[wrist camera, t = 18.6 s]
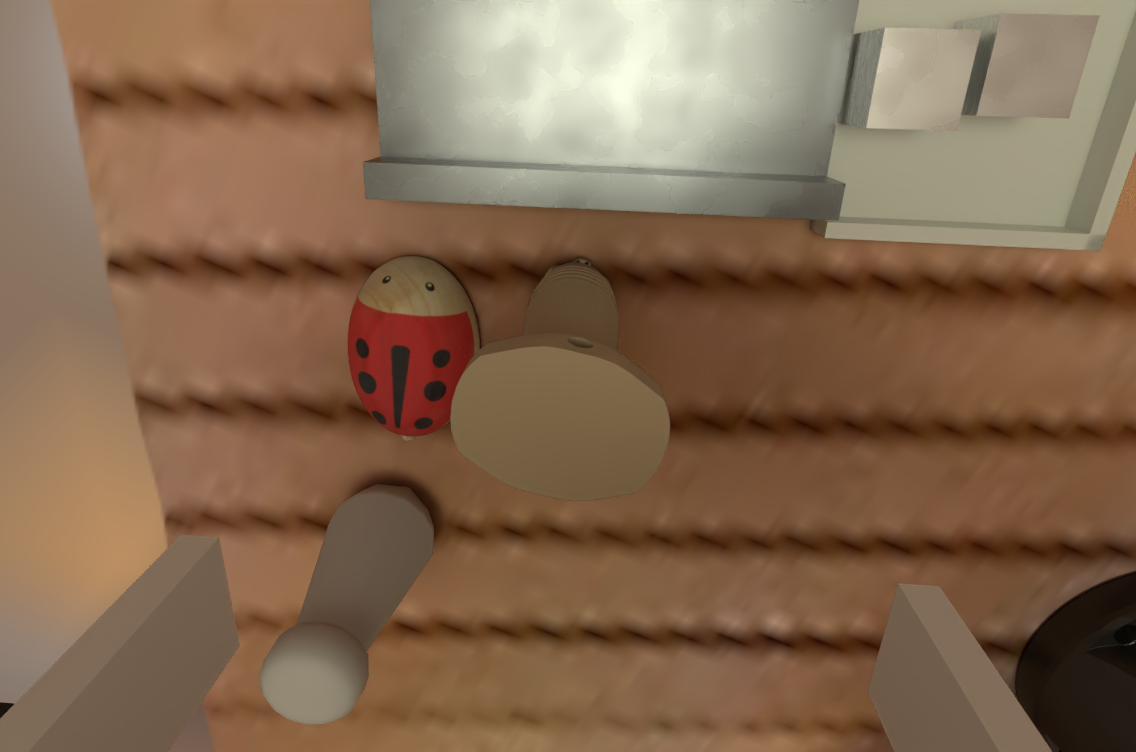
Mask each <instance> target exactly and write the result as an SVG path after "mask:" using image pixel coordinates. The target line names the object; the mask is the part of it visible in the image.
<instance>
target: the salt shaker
mask: <svg viewBox="0 0 1136 752" xmlns="http://www.w3.org/2000/svg"><path fill="white" fill-rule="evenodd" d="M433 541H434V526H433V523H432V520H431V517H430V514H429V510H428V509H427V508H426V506H425V505H424V504H423V503H422V502H421V501H420V499H419V498H418V497H417V496H416V495H415V493H414V492H413V491H412V490H411V489H410V487H404V486H395V485H386V484H376V485H374V486H371V487H369V488H367V489H365V490H362V491H360V492H359V493H357V494H355V495H354V496H352V497H350V498H349V499H347V500H345V501H344V502H343V503H342V504H341V505H340V506H339V507H338V509H337V510H336V512H335V514H334V516H333V517H332V519H331V521H330V522H329V525H328V528H327V532H326V535H325V538H324V541H323V544H322V547H321V550H320V554H319V557H318V560H317V563H316V566H315V569H314V572H313V575H312V579H311V582H310V585H309V588H308V591H307V594H306V597H305V601H304V604H303V607H302V610H301V613H300V616H299V619H298V623H297V625H296V626H294V627H292V628H290V629H288V630H286V631H285V632H284V633H282V634H281V635H280V636H279V638H278V639H277V641H276V642H275V644H274V645H273V647H272V648H271V650H270V652H269V653H268V655H267V657H266V658H265V660H264V662H263V665H262V668H261V671H260V674H259V675H260V683H261V690H262V692H263V694H264V696H265V698H266V699H267V701H268V702H269V704H270V705H271V706H272V708H273V709H274V710H275V711H276V712H278V713H279V714H281V715H283V716H284V717H286V718H287V719H289V720H292V721H296V722H299V723H303V724H307V725H309V724H325V723H328V722H332V721H334V720H336V719H339V718H341V717H343V716H345V715H347V714H349V712H350V711H351V709H352V708H353V706H354V705H355V703H356V702H357V700H358V699H359V697H360V695H361V694H362V692H363V691H364V689H365V686H366V683H367V680H368V676H369V674H368V653H367V651H368V649H369V648H370V646H371V645H372V643H373V642H374V640H375V639H376V637H377V636H378V634H379V633H380V631H381V630H382V628H383V627H384V625H385V624H386V623H387V621H388V620H389V618H390V617H391V615H392V614H393V612H394V611H395V609H396V608H397V606H398V605H399V603H400V602H401V600H402V599H403V597H404V596H405V595H406V593H407V592H408V590H409V589H410V587H411V586H412V584H413V583H414V581H415V580H416V578H417V577H418V575H419V574H420V572H421V571H422V570H423V568H424V566H425V565H426V563H427V562H428V560H429V558H430V557H431V555H432V554H433Z"/></svg>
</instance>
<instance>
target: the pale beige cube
mask: <svg viewBox="0 0 1136 752" xmlns="http://www.w3.org/2000/svg"><path fill="white" fill-rule="evenodd" d="M980 34H981V30H961V29H923V28H881V29H876V30H871V31H866V32H861V33H857V34H853V38H852V43H851V49H850V54H849V59H848V65H847V70H846V76H845V81H844V87H843V92H842V97H841V103H840V109H839V114H838V120H837V124H842V125H848V126H855V127H861V128H875V129H908V130H941V131H957V129H958V125H959V121H960V117H961V112H962V108H963V104H964V100H965V96H966V92H967V88H968V83H969V79H970V75H971V71H972V67H973V63H974V59H975V54H976V50H977V46H978V42H979V38H980Z"/></svg>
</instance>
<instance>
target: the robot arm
mask: <svg viewBox="0 0 1136 752" xmlns="http://www.w3.org/2000/svg"><path fill="white" fill-rule="evenodd" d="M239 646H240V644H239V639H238V634H237V628H236V623H235V618H234V613H233V608H232V602H231V597H230V592H229V587H228V582H227V577H226V571H225V566H224V561H223V556H222V551H221V545H220V540H219V537H204V536H189V535H180V536H179V537H178V538H177V539H176V540H175V541H174V542H173V543H172V545H171V546H170V547H169V548H168V549H167V550H166V551H165V552H164V553H163V554H162V555H161V556H160V557H159V558H158V559H157V560H156V561H155V562H154V563H153V564H152V565H151V566H150V567H149V568H148V569H147V570H146V571H145V572H144V573H143V574H142V575H141V576H140V577H139V578H138V579H137V580H136V581H135V582H134V583H133V584H132V585H131V586H130V587H129V588H128V589H127V590H126V591H125V592H124V594H122V596H120V597H119V598H118V600H116V602H115V603H113V605H112V606H111V607H110V608H109V609H108V610H107V611H106V612H105V613H104V614H103V615H102V616H101V617H100V618H99V619H98V620H97V621H96V622H95V623H94V624H93V625H92V626H91V627H90V628H89V629H88V630H87V631H86V632H85V633H84V634H83V635H82V636H81V637H80V638H79V639H78V640H77V641H76V642H75V643H74V644H73V646H71V647H70V648H69V649H68V650H67V651H66V652H65V653H64V654H63V655H62V656H61V657H60V658H59V660H58V661H57V662H55V664H53V665H52V667H51V668H50V669H49V670H48V671H47V672H46V673H45V674H44V675H43V676H42V677H41V678H40V679H39V680H38V681H37V682H36V683H35V684H34V685H33V686H32V687H31V688H30V689H29V690H28V691H27V692H26V693H25V694H24V695H23V696H22V697H21V698H20V699H19V700H18V701H17V702H16V703H15V704H12V703H0V752H168V751H169V750H170V748H171V746H172V745H173V744H174V742H175V741H176V739H177V738H178V736H179V735H180V733H181V732H182V730H183V729H184V727H185V726H186V725H187V723H188V722H189V720H190V719H191V717H192V715H193V714H194V712H195V711H196V710H197V708H198V707H199V705H200V704H201V702H202V701H203V699H204V698H205V696H206V695H207V693H208V692H209V690H210V689H211V688H212V686H213V685H214V683H215V682H216V680H217V679H218V677H219V676H220V674H221V673H222V671H223V670H224V668H225V667H226V665H227V664H228V662H229V661H230V659H231V658H232V656H233V655H234V653H235V652H236V651H237V649H238V648H239ZM1016 689H1017V697H1018V701H1019V702H1018V701H1017V699H1016V698H1015V696H1014V695H1013V693H1012V692H1011V690H1010V689H1009V687H1008V686H1007V684H1006V683H1005V682H1004V680H1003V679H1002V677H1001V676H1000V674H999V673H998V671H997V670H996V668H995V667H994V665H993V664H992V662H991V661H990V659H989V658H988V657H987V655H986V654H985V652H984V651H983V649H982V648H981V646H980V645H979V643H978V642H977V640H976V639H975V637H974V636H973V635H972V633H971V632H970V630H969V629H968V627H967V626H966V624H965V623H964V621H963V620H962V618H961V617H960V615H959V614H958V613H957V611H956V610H955V608H954V607H953V605H952V604H951V602H950V601H949V599H948V598H947V596H946V595H945V593H944V592H943V591H942V589H941V588H940V586H931V585H916V584H901V583H898V586H897V589H896V593H895V597H894V600H893V604H892V607H891V611H890V614H889V618H888V621H887V625H886V628H885V632H884V636H883V639H882V643H881V646H880V650H879V653H878V657H877V660H876V664H875V667H874V671H873V675H872V678H871V682H870V685H869V689H868V694H869V696H870V698H871V700H872V703H873V705H874V707H875V710H876V712H877V714H878V716H879V719H880V721H881V723H882V726H883V728H884V730H885V732H886V735H887V737H888V739H889V741H890V744H891V746H892V748H893V751H894V752H1136V574H1134V575H1130V576H1127V577H1124V578H1121V579H1118V580H1115V581H1112V582H1110V583H1108V584H1105V585H1103V586H1101V587H1098V588H1096V589H1094V590H1092V591H1090V592H1088V593H1087V594H1085V595H1083V596H1081V597H1080V598H1078V599H1076V600H1075V601H1073V602H1072V603H1070V604H1069V605H1067V606H1066V607H1065V608H1063V609H1062V610H1061V611H1059V612H1058V613H1057V614H1056V615H1055V616H1053V617H1052V618H1051V619H1050V620H1049V621H1048V622H1047V623H1046V624H1045V625H1044V626H1043V627H1042V628H1041V629H1040V631H1039V632H1038V633H1037V634H1036V636H1035V637H1034V638H1033V640H1032V641H1031V643H1030V644H1029V646H1028V647H1027V649H1026V651H1025V653H1024V655H1023V657H1022V659H1021V662H1020V665H1019V669H1018V673H1017V680H1016Z"/></svg>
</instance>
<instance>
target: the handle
mask: <svg viewBox="0 0 1136 752" xmlns="http://www.w3.org/2000/svg"><path fill="white" fill-rule="evenodd" d="M618 336H619V313H618V306H617V303H616V299H615V296H614V293H613V291H612V289H611V286H610V283H609V281H608V279H607V278H606V277H604V276H603V275H602V274H601V273H600V272H599V271H598V270H596V269H595V268H593V266H592V265H591V261H590V260H588V259H586V258H582V257H577V258H576V259H575V260H574V261H572V262H570V263H566V264H563V265H553V266H552V267H551V268H550V269H549V270H548V271H547V273H546V274H545V276H544V278H543V279H542V280H541V281H540V283H539V284H538V285H537V287H536V289H535V290H534V292H533V294H532V296H531V298H530V300H529V304H528V307H527V310H526V313H525V318H524V326H523V335H522V336H516V337H511V338H506V339H501V340H497V341H493V342H489V343H487V344H486V345H484V346H483V347H482V348H481V349H480V350H479V351H478V352H477V353H476V354H475V355H474V357H473V358H472V359H471V360H470V361H469V363H468V364H467V366H466V368H465V370H464V372H463V374H462V376H461V378H460V380H459V382H458V384H457V387H456V390H455V393H454V397H453V400H452V406H451V416H450V420H451V432H452V435H453V438H454V441H455V444H456V446H457V448H458V450H459V452H460V454H461V455H463V456H464V457H465V458H467V459H468V460H470V461H471V462H472V463H474V464H475V465H477V466H478V467H479V468H481V469H482V470H484V471H485V472H487V473H488V474H490V475H491V476H492V477H494V478H495V479H497V480H499V481H501V482H503V483H504V484H506V485H508V486H510V487H513V488H516V489H519V490H522V491H525V492H529V493H534V494H538V495H542V496H547V497H551V498H556V499H561V500H569V501H589V500H596V499H604V498H610V497H616V496H622V495H628V494H633V493H635V492H636V491H637V490H639V489H640V488H641V487H643V486H644V485H645V484H646V483H647V482H648V481H649V480H650V479H651V478H652V477H653V475H654V474H655V472H656V471H657V469H658V468H659V466H660V464H661V462H662V459H663V457H664V455H665V453H666V449H667V445H668V441H669V435H670V419H669V414H668V409H667V404H666V400H665V397H664V394H663V391H662V388H661V386H660V384H659V383H657V382H656V381H655V380H654V379H653V378H652V377H651V376H649V375H648V374H647V373H646V372H645V371H643V370H642V369H641V368H640V367H638V366H637V365H636V364H634V363H633V362H632V361H630V360H629V359H628V358H626V357H625V356H623V355H622V354H620V353H618V352H617V345H618Z"/></svg>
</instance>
